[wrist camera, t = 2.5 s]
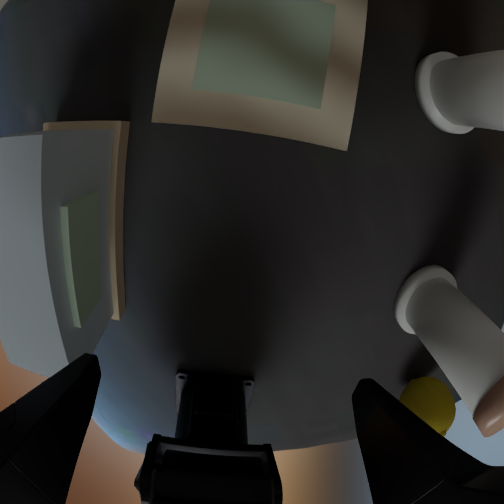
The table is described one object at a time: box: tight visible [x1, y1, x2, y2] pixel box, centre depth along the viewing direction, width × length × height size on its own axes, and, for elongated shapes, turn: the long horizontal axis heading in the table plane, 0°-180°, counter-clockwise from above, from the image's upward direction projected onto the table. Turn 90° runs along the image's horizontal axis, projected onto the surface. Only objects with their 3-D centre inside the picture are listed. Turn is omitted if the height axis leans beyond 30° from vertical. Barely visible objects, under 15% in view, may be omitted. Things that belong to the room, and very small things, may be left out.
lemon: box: [399, 377, 456, 437], centre depth 22 cm, size 6×6×8 cm
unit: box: [0, 121, 130, 378], centre depth 14 cm, size 13×6×8 cm, turn 171°
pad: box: [151, 0, 368, 151], centre depth 14 cm, size 11×11×1 cm
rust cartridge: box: [394, 265, 504, 437], centre depth 16 cm, size 6×6×13 cm
